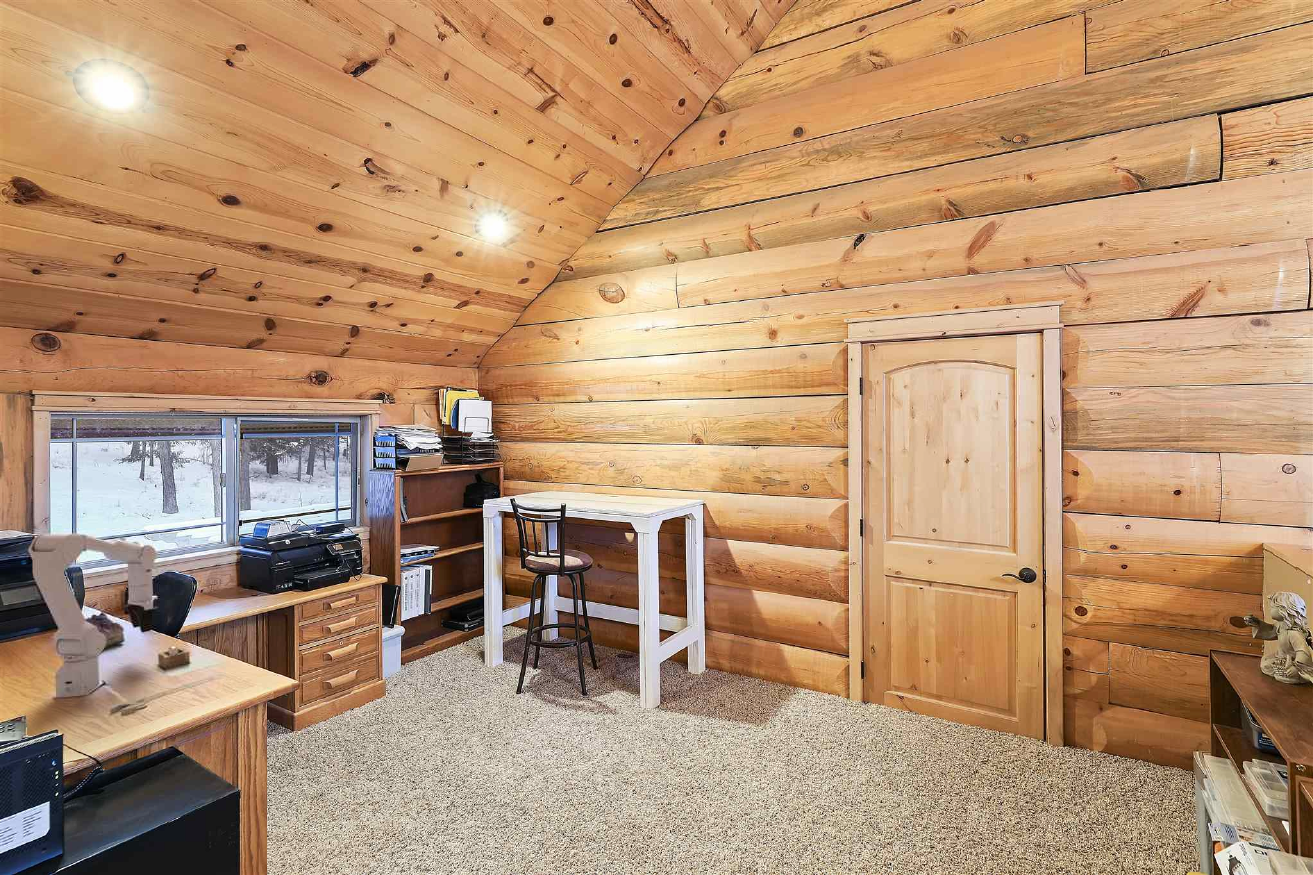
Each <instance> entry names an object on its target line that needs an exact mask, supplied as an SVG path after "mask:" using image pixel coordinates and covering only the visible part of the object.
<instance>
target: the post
mask: <svg viewBox="0 0 1313 875" xmlns="http://www.w3.org/2000/svg"><path fill="white" fill-rule="evenodd" d="M178 648H179V646H177V645H175V646H170V647H168V651H169V655H173V654H178ZM190 663H191V662H190ZM190 663H187V664H190ZM187 664H183V665H187ZM183 665H180V666H183ZM155 666H158V667H159V668H161V669H162V670H167V669H164V668H163V667H161V666H160V665H159V663H157V664H155ZM176 667H179V666H176ZM172 668H175V667H172ZM168 669H171V668H168Z"/></svg>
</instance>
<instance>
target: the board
mask: <svg viewBox="0 0 1313 875" xmlns="http://www.w3.org/2000/svg"><path fill="white" fill-rule="evenodd" d="M189 657H190V662H191V663H190V664H187V665H183V666H179V667H175V668H171V669H167V670H162V669H161V668H159V667H158V666H156V665H154V666H153V667H154V668H156V669H158V671H160V672H161V673H163V674H165V675H166V676H168V677H169V678H172V677H177V676H180V675H184V674H189V673H191V672H195V671H199V670H202V669H207V668H209V667H214V666H219V663H217V661H214V660H212V659H211V658H209V657H207V656H205V655H203V654H196V655H192V656H189Z"/></svg>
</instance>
